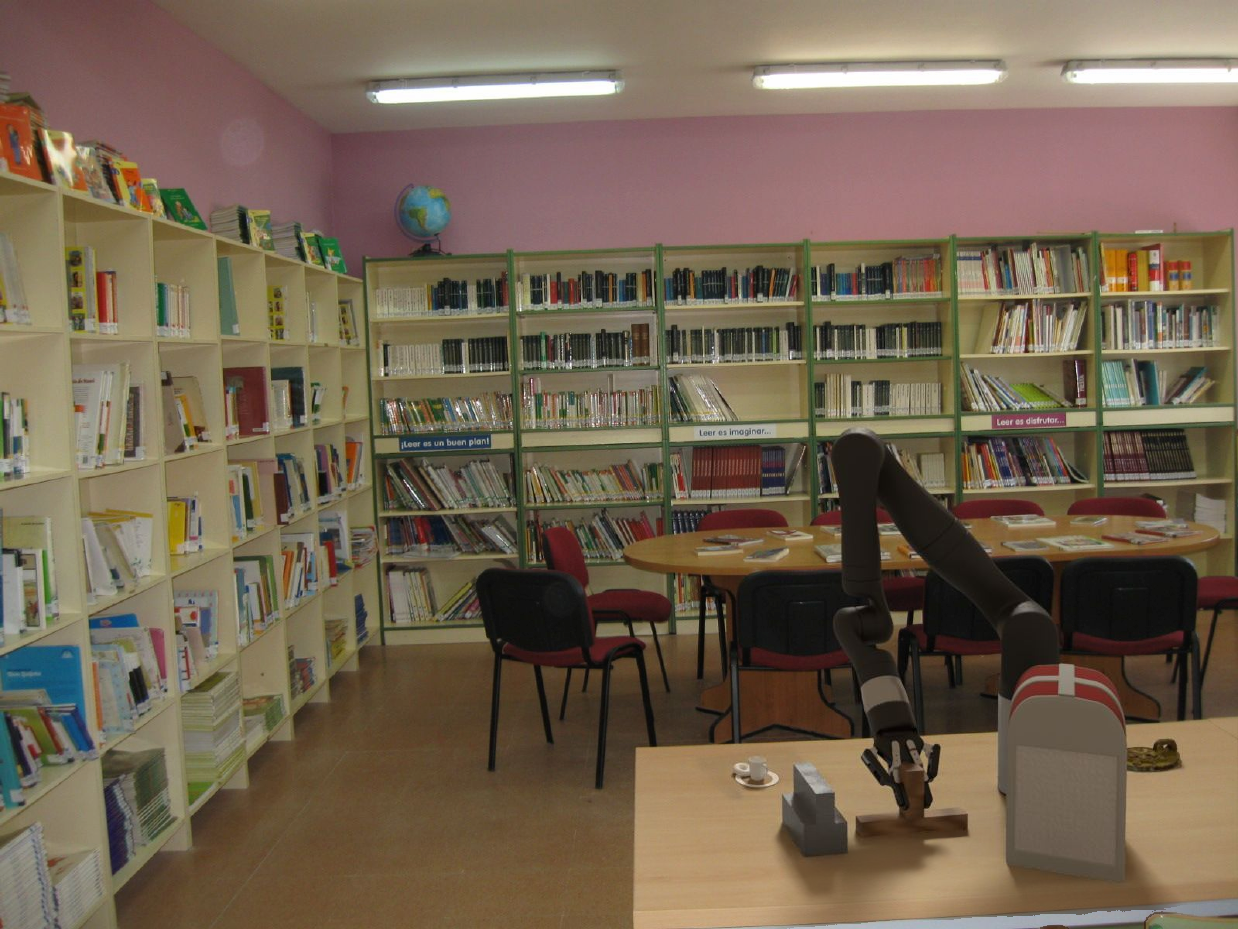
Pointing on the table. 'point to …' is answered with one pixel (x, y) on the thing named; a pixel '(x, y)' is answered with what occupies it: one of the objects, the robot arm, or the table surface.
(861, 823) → the wooden t-shaped block
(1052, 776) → the red-striped tombstone block
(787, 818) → the gray metal t-shaped block
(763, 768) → the teacup and saucer
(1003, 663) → the robot arm
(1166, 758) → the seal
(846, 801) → the table surface
